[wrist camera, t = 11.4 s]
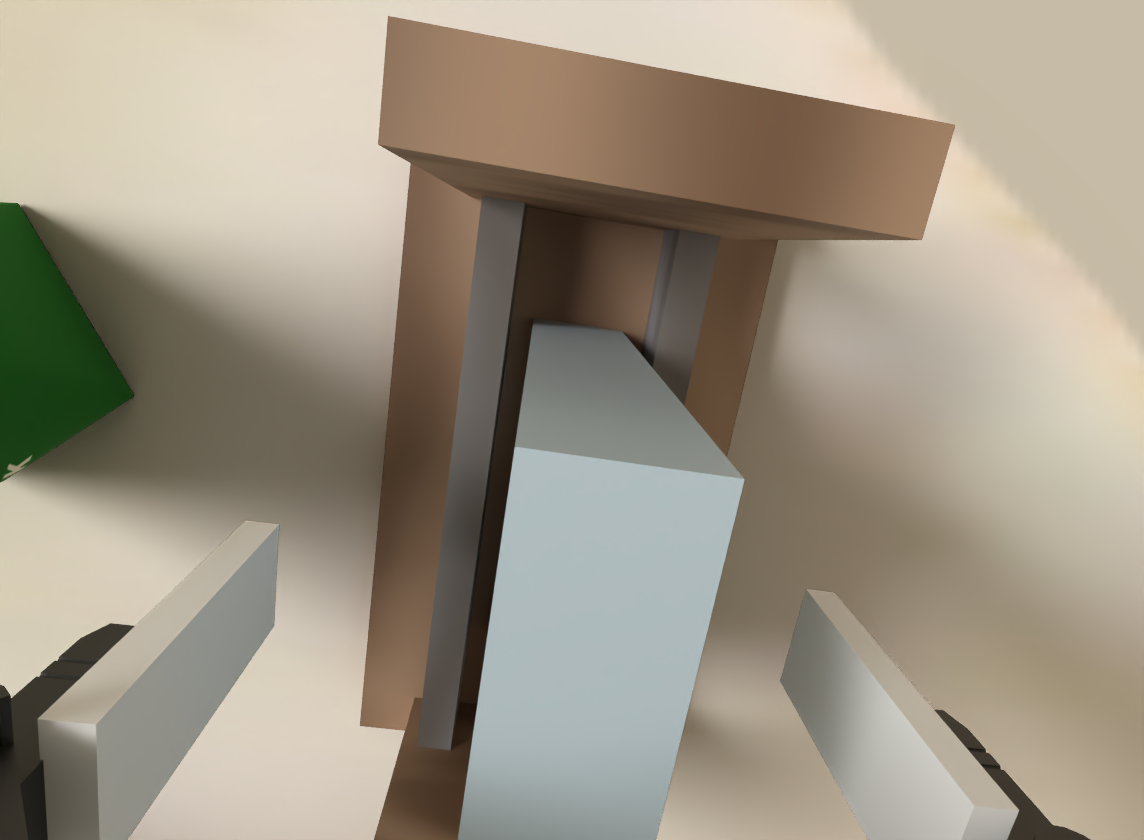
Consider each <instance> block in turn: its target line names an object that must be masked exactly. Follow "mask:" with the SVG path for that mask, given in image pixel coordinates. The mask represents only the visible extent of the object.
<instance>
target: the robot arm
mask: <svg viewBox="0 0 1144 840" xmlns="http://www.w3.org/2000/svg"><path fill="white" fill-rule="evenodd" d="M278 538H279V524H273V523H265V522H257V521H248V520H246V521H245V522H243V523H242V524H241V525H240V526H239V527H238V528H237V529H236V530H235V531H234V532H233V533H232V534H231V535H230V536H229V537H228V538H227V539H226V540H225V541H224V542H223V543H221V544H220V545H219V546H218V547H217V548H216V549H215V550H214V551H213V552H212V553H211V554H210V555H209V556H208V557H207V558H206V559H205V560H204V561H203V562H202V563H201V564H199V565H198V566H197V567H196V568H195V569H194V570H193V571H192V572H191V573H190V574H189V575H188V576H187V577H186V578H185V579H184V580H183V581H182V582H181V583H180V584H179V585H177V586H176V587H175V588H174V589H173V590H172V591H171V592H170V593H169V594H168V595H167V596H166V597H165V598H164V599H163V600H162V601H161V602H160V603H159V604H158V605H157V606H155V607H154V608H153V609H152V610H151V611H150V612H149V613H148V614H147V615H146V616H145V617H144V618H143V619H142V620H141V621H140V622H139V623H138V624H137V625H136V626H130V625H121V624H109V625H107V626H105V627H102V628H100V629H98V630H96V631H94V632H92V633H90V634H88V635H86V636H84V637H82V638H80V639H79V640H78V641H77V642H76V643H75V644H73V645H72V646H71V647H70V648H69V649H68V650H67V651H65V652H64V653H63V654H62V655H61V656H60V657H59V659H58V661H54V662H53V663H52V664H50V665H49V666H48V667H47V668H46V669H45V670H44V671H42V672H41V675H40V677H35V678H34V679H33V680H32V681H31V682H30V683H29V684H27V685H26V686H25V687H24V688H23V689H22V690H20V691H19V692H18V693H17V694H16V695H15V696H14V697H12V698H11V696H10V694H9V692H8V691H7V690H6V688H5V687H4V686H2V685H0V840H128V838H129V837H130V835H131V834H132V832H133V831H134V829H135V828H136V826H137V825H138V824H139V822H140V821H141V819H142V818H143V816H144V815H145V813H146V812H147V810H148V809H149V808H150V806H151V805H152V803H153V802H154V800H155V799H156V797H157V796H158V794H159V793H160V791H161V790H162V789H163V787H164V786H165V784H166V783H167V781H168V780H169V778H170V777H171V775H172V774H173V773H174V771H175V770H176V768H177V767H178V765H179V764H180V762H181V761H182V759H183V758H184V756H185V755H186V754H187V752H188V751H189V749H190V748H191V746H192V745H193V743H194V742H195V740H196V739H197V738H198V736H199V735H200V733H201V732H202V730H203V729H204V727H205V726H206V724H207V723H208V721H209V720H210V719H211V717H212V716H213V714H214V713H215V711H216V710H217V708H218V707H219V705H220V704H221V703H222V701H223V700H224V698H225V697H226V695H227V694H228V692H229V691H230V689H231V688H232V687H233V685H234V684H235V682H236V681H237V679H238V678H239V676H240V675H241V673H242V672H243V670H244V669H245V668H246V666H247V665H248V663H249V662H250V660H251V659H252V657H253V656H254V654H255V653H256V652H257V650H258V649H259V647H260V646H261V644H262V643H263V641H264V640H265V638H266V637H267V635H268V634H269V633H270V631H271V630H272V628H273V627H274V619H275V599H276V579H277V559H278ZM780 681H781V683H782V685H783V687H784V689H785V690H786V692H787V694H788V696H789V698H790V700H791V701H792V703H793V705H794V707H795V709H796V710H797V712H798V714H799V716H800V718H801V719H802V721H803V723H804V725H805V727H806V728H807V730H808V732H809V734H810V736H811V737H812V739H813V741H814V743H815V745H816V747H817V748H818V750H819V752H820V754H821V756H822V757H823V759H824V761H825V763H826V765H827V766H828V768H829V770H830V772H831V774H832V775H833V777H834V779H835V781H836V783H837V785H838V786H839V788H840V790H841V792H842V794H843V795H844V797H845V799H846V801H847V803H848V804H849V806H850V808H851V810H852V812H853V813H854V815H855V817H856V819H857V821H858V822H859V824H860V826H861V828H862V830H863V832H864V833H865V835H866V837H867V839H868V840H1090V839H1088V838H1087V837H1085V836H1084V835H1081V834H1079V833H1077V832H1074V831H1072V830H1070V829H1067V828H1065V827H1059V826H1054V825H1052V824H1051V823H1050V822H1049V820H1048V819H1047V818H1046V817H1045V816H1044V815H1043V814H1042V813H1041V811H1040V810H1039V809H1038V808H1037V807H1036V806H1035V805H1034V803H1033V802H1032V801H1031V800H1030V799H1029V798H1028V797H1027V796H1026V794H1025V793H1024V792H1023V791H1022V790H1021V789H1020V788H1019V787H1018V785H1017V784H1016V783H1015V782H1014V781H1013V780H1012V779H1011V777H1010V776H1009V775H1008V774H1007V773H1006V772H1005V771H1004V770H1001V769H1000V765H999V764H998V763H997V762H996V760H995V759H994V758H993V757H992V756H991V755H990V754H989V753H986V751H985V750H986V749H985V748H984V747H983V746H982V745H981V743H980V742H979V741H978V740H977V739H976V738H975V737H974V736H973V734H972V733H971V732H970V731H969V730H968V729H967V728H966V727H964V726H963V725H962V724H960V723H959V722H958V721H956V720H955V719H954V718H952V717H951V716H950V715H948V714H947V713H946V712H944V711H943V710H934V709H933V708H932V707H931V706H930V704H929V703H928V702H927V701H926V700H925V699H924V697H923V696H922V695H921V694H920V693H919V692H918V690H917V689H916V688H915V687H914V686H913V684H912V683H911V682H910V681H909V680H908V679H907V677H906V676H905V675H904V674H903V673H902V671H901V670H900V669H899V668H898V667H897V666H896V664H895V663H894V662H893V661H892V660H891V658H890V657H889V656H888V655H887V654H886V653H885V651H884V650H883V649H882V648H881V647H880V645H879V644H878V643H877V642H876V641H875V640H874V638H873V637H872V636H871V635H870V634H869V633H868V631H867V630H866V629H865V628H864V627H863V625H862V624H861V623H860V622H859V621H858V620H857V618H856V617H855V616H854V615H853V614H852V612H851V611H850V610H849V609H848V608H847V607H846V605H845V604H844V603H843V602H842V601H841V599H840V598H839V597H838V596H837V595H836V594H835V592H827V591H819V590H811V589H806V591H805V595H804V598H803V602H802V605H801V609H800V612H799V616H798V619H797V623H796V626H795V630H794V633H793V637H792V641H791V644H790V648H789V651H788V655H787V658H786V662H785V665H784V669H783V672H782V676H781V680H780Z"/></svg>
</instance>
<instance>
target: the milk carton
mask: <svg viewBox="0 0 1144 840" xmlns="http://www.w3.org/2000/svg"><path fill="white" fill-rule="evenodd" d="M133 397H134V394H133V393H132V391H131V389H130V388H129V386H128V384H127V383H126V381H125V379H124V378H123V376H122V374H121V373H120V371H119V369H118V368H117V366H116V364H115V363H114V361H113V359H112V358H111V356H110V354H109V353H108V351H107V349H106V348H105V346H104V345H103V343H102V341H101V340H100V338H99V336H98V335H97V333H96V331H95V330H94V328H93V326H92V325H91V323H90V321H89V320H88V318H87V316H86V315H85V313H84V311H83V310H82V308H81V306H80V305H79V303H78V301H77V300H76V298H75V296H74V295H73V293H72V291H71V290H70V288H69V287H68V285H67V283H66V282H65V280H64V278H63V277H62V275H61V273H60V272H59V270H58V268H57V267H56V265H55V263H54V262H53V260H52V258H51V257H50V255H49V253H48V252H47V250H46V248H45V247H44V245H43V243H42V242H41V240H40V238H39V237H38V235H37V233H36V232H35V230H34V228H33V227H32V225H31V224H30V222H29V220H28V219H27V217H26V215H25V214H24V212H23V210H22V209H21V207H20V205H19V204H18V203H2V202H0V482H2V481H4V480H6V479H7V478H9V477H10V476H12V475H14V474H15V473H17V472H18V471H20V470H21V469H23V468H24V467H26V466H28V465H29V464H31V463H32V462H34V461H35V460H37V459H38V458H40V457H41V456H43V455H45V454H46V453H48V452H49V451H51V450H52V449H54V448H55V447H57V446H58V445H60V444H61V443H63V442H65V441H66V440H68V439H69V438H71V437H72V436H74V435H75V434H77V433H78V432H80V431H81V430H83V429H85V428H86V427H88V426H89V425H91V424H92V423H94V422H95V421H97V420H98V419H100V418H101V417H103V416H104V415H106V414H108V413H109V412H111V411H112V410H114V409H115V408H117V407H118V406H120V405H121V404H123V403H125V402H126V401H128V400H129V399H131V398H133Z"/></svg>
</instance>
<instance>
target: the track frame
mask: <svg viewBox="0 0 1144 840" xmlns="http://www.w3.org/2000/svg"><path fill="white" fill-rule="evenodd" d="M954 128H955V125H953V124H948V123H943V122H938V121H933V120H927V119H922V118H917V117H912V116H907V115H901V114H896V113H891V112H886V111H880V110H875V109H870V108H865V107H860V106H854V105H849V104H844V103H839V102H834V101H828V100H823V99H818V98H813V97H807V96H802V95H797V94H792V93H787V92H781V91H776V90H771V89H766V88H761V87H755V86H750V85H745V84H740V83H734V82H729V81H724V80H719V79H714V78H708V77H703V76H698V75H693V74H688V73H682V72H677V71H672V70H667V69H661V68H656V67H651V66H646V65H641V64H635V63H630V62H625V61H620V60H615V59H609V58H604V57H599V56H594V55H588V54H583V53H578V52H573V51H568V50H562V49H557V48H552V47H547V46H542V45H536V44H531V43H526V42H521V41H515V40H510V39H505V38H500V37H495V36H489V35H484V34H479V33H474V32H469V31H463V30H458V29H453V28H448V27H442V26H437V25H432V24H427V23H422V22H416V21H411V20H406V19H401V18H396V17H390V16H388V24H387V37H386V50H385V63H384V76H383V89H382V101H381V114H380V127H379V140H378V145H380V146H382V147H383V148H385V149H387V150H389V151H391V152H392V153H394V154H396V155H398V156H399V157H401V158H403V159H405V160H406V161H408V162H410V163H411V166H410V177H409V189H408V200H407V211H406V222H405V233H404V244H403V255H402V266H401V277H400V288H399V299H398V310H397V321H396V332H395V343H394V354H393V366H392V377H391V388H390V399H389V410H388V421H387V432H386V443H385V454H384V465H383V476H382V487H381V498H380V509H379V520H378V531H377V543H376V554H375V565H374V576H373V587H372V598H371V609H370V620H369V631H368V642H367V653H366V664H365V675H364V686H363V697H362V708H361V720H360V726H367V727H376V728H386V729H395V730H405V733H404V736H403V740H402V743H401V747H400V750H399V754H398V757H397V761H396V764H395V768H394V771H393V775H392V778H391V782H390V785H389V789H388V792H387V796H386V799H385V803H384V806H383V810H382V813H381V817H380V820H379V824H378V827H377V831H376V834H375V838H374V840H458V834H459V827H460V821H461V814H462V807H463V800H464V793H465V786H466V779H467V772H468V766H469V759H470V752H471V745H472V738H473V731H474V724H475V717H476V710H477V704H478V697H479V690H480V683H481V676H482V669H483V662H484V655H485V649H486V642H487V635H488V628H489V621H490V614H491V607H492V600H493V594H494V587H495V580H496V573H497V566H498V559H499V552H500V545H501V538H502V532H503V525H504V518H505V511H506V504H507V497H508V490H509V483H510V477H511V470H512V463H513V456H514V449H515V442H516V435H517V429H518V422H519V415H520V408H521V402H522V395H523V388H524V381H525V375H526V368H527V361H528V354H529V348H530V341H531V334H532V327H533V321H534V318H541V319H547V320H553V321H560V322H566V323H572V324H579V325H585V326H591V327H598V328H604V329H610V330H617V331H622V332H623V333H624V334H625V335H626V337H627V338H628V339H629V340H630V341H631V343H632V344H633V345H634V346H635V347H636V349H637V350H638V351H639V352H640V353H641V355H642V356H643V357H644V358H645V360H646V361H647V362H648V363H649V364H650V366H651V367H652V368H653V369H654V370H655V372H656V373H657V374H658V375H659V376H660V378H661V379H662V380H663V381H664V382H665V384H666V385H667V386H668V387H669V388H670V390H671V391H672V392H673V393H674V394H675V396H676V397H677V398H678V399H679V400H680V402H681V403H682V404H683V405H684V406H685V408H686V409H687V410H688V411H689V413H690V414H691V415H692V416H693V417H694V419H695V420H696V421H697V422H698V423H699V425H700V426H701V427H702V428H703V429H704V431H705V432H706V433H707V434H708V435H709V437H710V438H711V439H712V440H713V441H714V443H715V444H716V445H717V446H718V447H719V449H720V450H721V451H722V452H723V453H724V455H725V456H726V457H727V454H728V449H729V445H730V441H731V437H732V432H733V428H734V424H735V420H736V415H737V411H738V407H739V403H740V398H741V394H742V390H743V386H744V382H745V377H746V373H747V369H748V365H749V360H750V356H751V352H752V348H753V343H754V339H755V335H756V331H757V326H758V322H759V318H760V314H761V310H762V305H763V301H764V297H765V293H766V288H767V284H768V280H769V276H770V271H771V267H772V263H773V259H774V254H775V250H776V246H777V242H778V240H922V238H923V234H924V231H925V228H926V224H927V221H928V217H929V214H930V210H931V207H932V204H933V200H934V197H935V193H936V190H937V186H938V183H939V180H940V176H941V173H942V169H943V166H944V163H945V159H946V156H947V152H948V149H949V145H950V142H951V139H952V135H953V132H954Z"/></svg>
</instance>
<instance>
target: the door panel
mask: <svg viewBox="0 0 1144 840" xmlns="http://www.w3.org/2000/svg"><path fill="white" fill-rule="evenodd" d="M744 481H745V479H744V478H743V476H742V475H741V474H740V473H739V472H738V470H737V469H736V468H735V467H734V466H733V464H732V463H731V462H730V461H729V459H728V458H727V457H726V456H725V455H724V453H723V452H722V451H721V450H720V449H719V447H718V446H717V445H716V444H715V443H714V441H713V440H712V439H711V438H710V437H709V435H708V434H707V433H706V432H705V431H704V429H703V428H702V427H701V426H700V425H699V423H698V422H697V421H696V420H695V419H694V417H693V416H692V415H691V414H690V413H689V411H688V410H687V409H686V408H685V406H684V405H683V404H682V403H681V402H680V400H679V399H678V398H677V397H676V396H675V394H674V393H673V392H672V391H671V390H670V388H669V387H668V386H667V385H666V384H665V382H664V381H663V380H662V379H661V378H660V376H659V375H658V374H657V373H656V372H655V370H654V369H653V368H652V367H651V366H650V364H649V363H648V362H647V361H646V360H645V358H644V357H643V356H642V355H641V353H640V352H639V351H638V350H637V349H636V347H635V346H634V345H633V344H632V343H631V341H630V340H629V339H628V338H627V337H626V335H625V334H624V333H623V332H622V331H617V330H610V329H604V328H598V327H591V326H585V325H579V324H572V323H566V322H560V321H553V320H547V319H541V318H534V321H533V327H532V334H531V341H530V348H529V354H528V361H527V368H526V375H525V381H524V388H523V395H522V402H521V408H520V415H519V422H518V429H517V435H516V442H515V449H514V456H513V463H512V470H511V477H510V483H509V490H508V497H507V504H506V511H505V518H504V525H503V532H502V538H501V545H500V552H499V559H498V566H497V573H496V580H495V587H494V594H493V600H492V607H491V614H490V621H489V628H488V635H487V642H486V649H485V655H484V662H483V669H482V676H481V683H480V690H479V697H478V704H477V710H476V717H475V724H474V731H473V738H472V745H471V752H470V759H469V766H468V772H467V779H466V786H465V793H464V800H463V807H462V814H461V821H460V827H459V834H458V840H656V838H657V834H658V830H659V826H660V822H661V818H662V814H663V810H664V805H665V801H666V797H667V793H668V789H669V785H670V781H671V777H672V773H673V769H674V765H675V761H676V757H677V753H678V749H679V745H680V740H681V736H682V732H683V728H684V724H685V720H686V716H687V712H688V708H689V704H690V700H691V696H692V692H693V688H694V684H695V680H696V676H697V671H698V667H699V663H700V659H701V655H702V651H703V647H704V643H705V639H706V635H707V631H708V627H709V623H710V619H711V615H712V611H713V606H714V602H715V598H716V594H717V590H718V586H719V582H720V578H721V574H722V570H723V566H724V562H725V558H726V554H727V550H728V546H729V541H730V537H731V533H732V529H733V525H734V521H735V517H736V513H737V509H738V505H739V501H740V497H741V493H742V489H743V485H744Z"/></svg>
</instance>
